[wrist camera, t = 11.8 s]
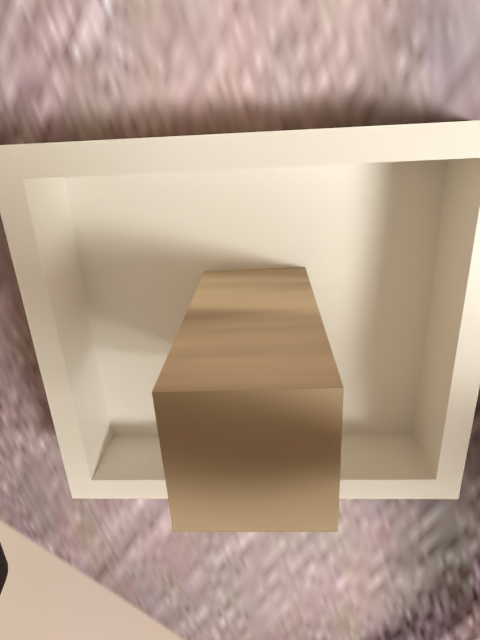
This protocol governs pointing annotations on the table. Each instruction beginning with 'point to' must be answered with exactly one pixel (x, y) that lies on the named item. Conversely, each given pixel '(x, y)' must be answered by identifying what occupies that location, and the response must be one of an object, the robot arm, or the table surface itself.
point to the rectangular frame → (255, 253)
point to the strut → (251, 408)
